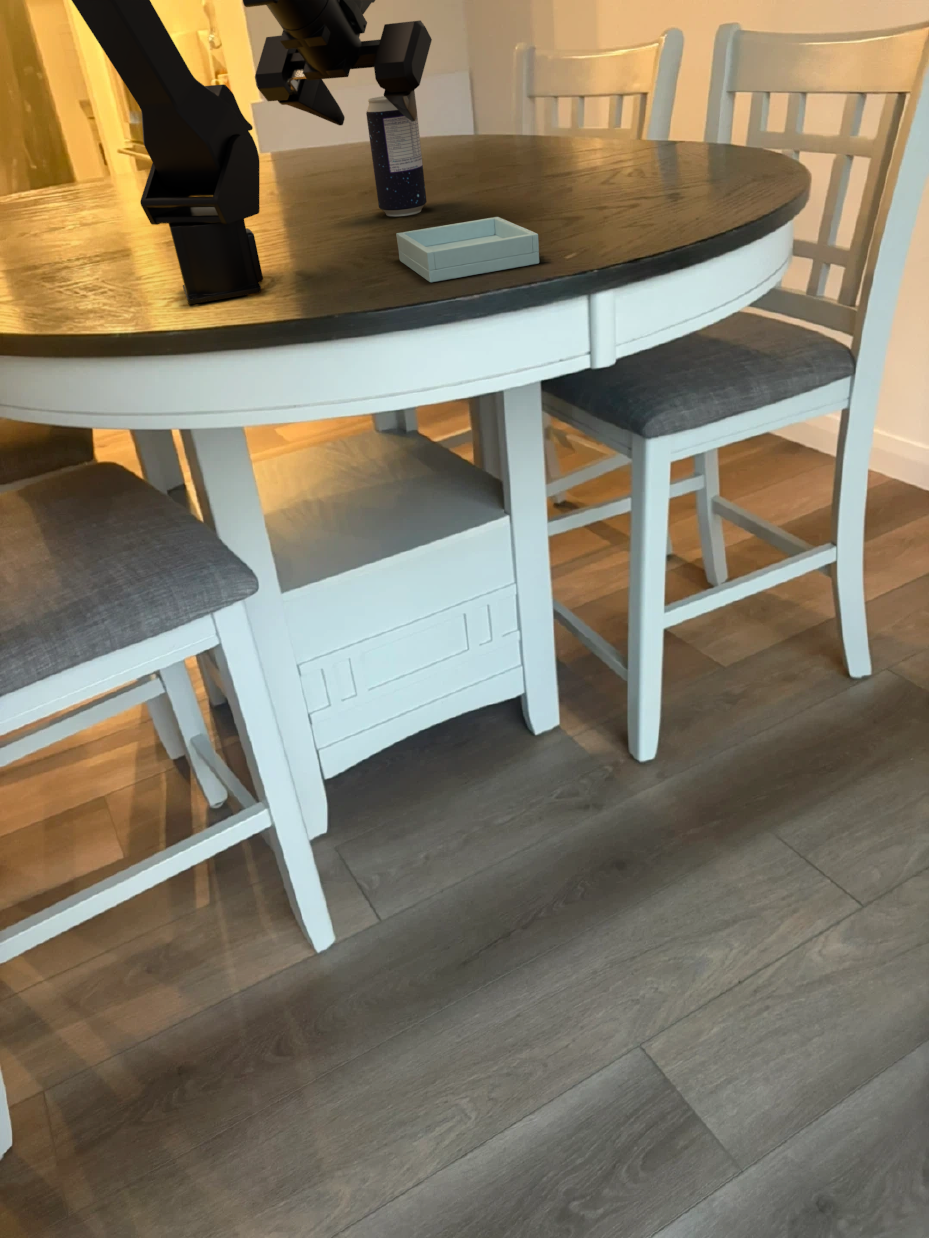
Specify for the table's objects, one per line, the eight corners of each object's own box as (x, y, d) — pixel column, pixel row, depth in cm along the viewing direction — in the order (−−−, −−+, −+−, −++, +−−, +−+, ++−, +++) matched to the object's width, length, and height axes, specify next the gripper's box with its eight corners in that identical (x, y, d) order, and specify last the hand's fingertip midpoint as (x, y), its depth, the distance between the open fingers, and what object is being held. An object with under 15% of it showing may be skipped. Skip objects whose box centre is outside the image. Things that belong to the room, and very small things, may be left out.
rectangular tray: (430, 283, 78) (426, 252, 77) (399, 261, 87) (396, 233, 85) (539, 263, 81) (538, 233, 79) (499, 244, 89) (497, 216, 87)
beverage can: (430, 206, 110) (418, 92, 103) (423, 215, 105) (410, 97, 98) (384, 210, 110) (369, 97, 104) (375, 219, 106) (359, 102, 99)
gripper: (410, -85, 83) (471, 47, 97) (245, -59, 90) (325, 61, 105) (380, 23, 81) (447, 141, 96) (215, 41, 89) (300, 148, 103)
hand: (378, 119), depth 100 cm, fingers open, 9 cm apart
